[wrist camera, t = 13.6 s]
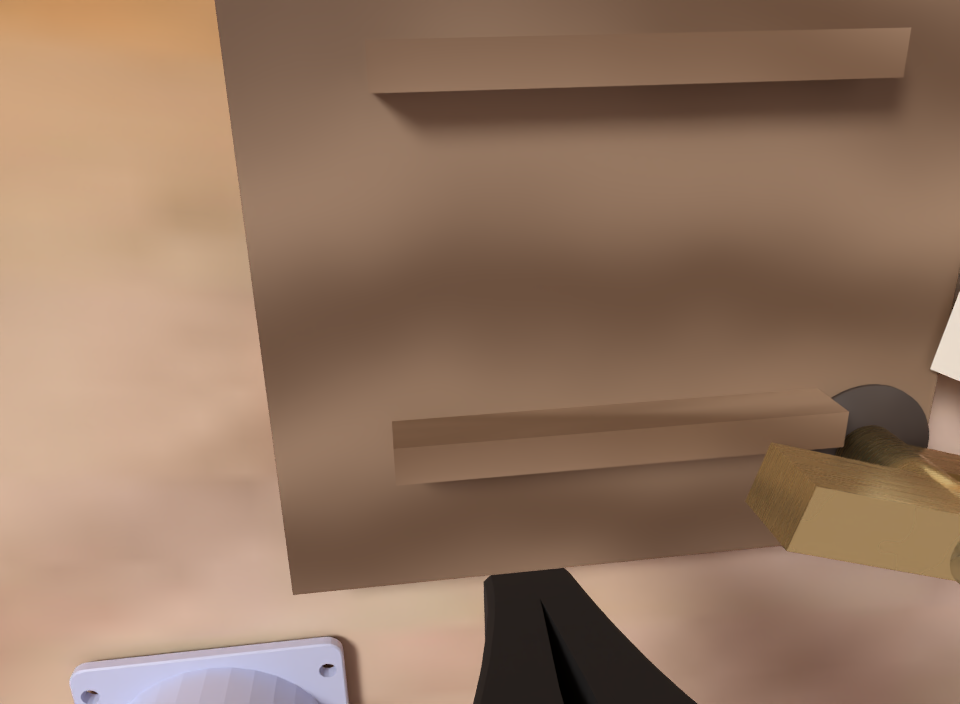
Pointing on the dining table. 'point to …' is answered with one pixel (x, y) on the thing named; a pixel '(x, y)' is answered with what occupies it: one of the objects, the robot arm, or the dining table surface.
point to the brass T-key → (865, 503)
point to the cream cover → (950, 346)
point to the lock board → (582, 264)
